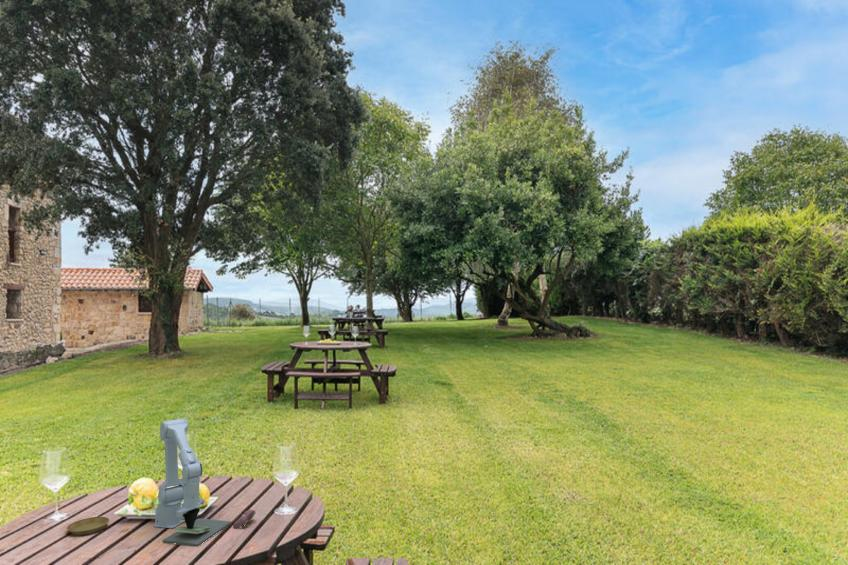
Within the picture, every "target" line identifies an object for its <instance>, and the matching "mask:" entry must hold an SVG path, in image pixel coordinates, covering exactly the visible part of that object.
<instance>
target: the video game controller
mask: <svg viewBox="0 0 848 565" xmlns="http://www.w3.org/2000/svg"><path fill="white" fill-rule="evenodd" d="M255 515H256V510H254V509H252V508H250V509H248V510H245V512H243V514H242V515H241V516H240V517H239V518H238V519H237V520H236V521H235V522H234V523H233V525H232V527H233V528H234V529H238V528H240V527H243V526H244V525H245V526H246V525H247V524H249V523H250V522H251V520H252V519H253V518H254V517H255ZM245 526H244V527H245Z"/></svg>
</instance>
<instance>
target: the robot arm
mask: <svg viewBox="0 0 848 565" xmlns="http://www.w3.org/2000/svg"><path fill="white" fill-rule="evenodd" d="M188 428H189V421H188V419H186V418H185V417H183V418H177V419H169V420H163V421H162V422H161V423H160V426H159V438H160V441H163V443H164V459H165V460H164V462H165V463H164V464H165V468H164V469H165V480H164V481H163V482H162V483H161V484H160V485H159V487H158V493H157V499H158V504H157V506H156V508H155V517H154V518H155V519H154V521H155V522H154V524H153V527H154V528H162V529H163V528H164V529H165V528H166V529H174V528H177V527H178V526H180V525H182V524H183V523H184V522H185V526H187V529H193V527H194V523H195V520H197V517H198V515H199V513H200V511H201V506H202V505H205V498H200V480H201V478H200V477H202V475H203V472H204V470H203V464H202V462H201V461H200V460H199V459H197V456H196V454H195V451H194V449H193V447H190V446H189V444H190V443H189V441H188V437H187V436H188V435H187V433H188ZM178 449H179V452H178ZM178 458H179V459H178ZM178 460H179V461H180V464H181V467H182V469H181V476H182V479H180V478H179V461H178ZM182 517H183V519H182Z"/></svg>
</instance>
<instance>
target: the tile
mask: <svg viewBox="0 0 848 565" xmlns="http://www.w3.org/2000/svg"><path fill="white" fill-rule="evenodd" d="M174 528H175V529H174V533H175V532H184V533H194V534H198V533H203V532H207V531H211V527H203V526H194V527H193V529H187V525H184V526H179V527H174Z"/></svg>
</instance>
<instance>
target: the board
mask: <svg viewBox="0 0 848 565" xmlns="http://www.w3.org/2000/svg"><path fill="white" fill-rule="evenodd" d="M231 525H232V520H231V521H230V520H221V519H220V520H219V519H218V520H217V519H209V518H202V517H201V518H200V517H199V518H196V520H195V523H194V526H203V527H211V531H207V532H203V533H198V534H194V533H184V532H175V531H174V532H173V533H172V534H170V535H168V536H167V537H165V538H164V539H162V542H164V543H163V544H169V543H176V544H175V545H177V546H178V545H180V546H186V545H188V546H189V547H195V546H199V545H200V546H202V545H203V544H204V543H203V542H205V541H206V540H207V541H209V540H210V539H212V538H213V537H214V536H213V535H215V534H216V533H218V532H219V531H221V530H222V531H224V530H225V529H226V528H228V527H229V526H231ZM224 528H225V529H224ZM222 531H221V532H222ZM219 533H220V532H219ZM219 533H218V534H219ZM216 535H217V534H216ZM216 535H215V536H216ZM212 536H213V537H212ZM211 537H212V538H211ZM209 538H210V539H209ZM208 539H209V540H208ZM207 541H206V542H207ZM162 542H161V543H162ZM206 542H205V543H206ZM202 543H203V544H202ZM201 544H202V545H201ZM188 546H187V547H188ZM200 546H199V547H200Z"/></svg>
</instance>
